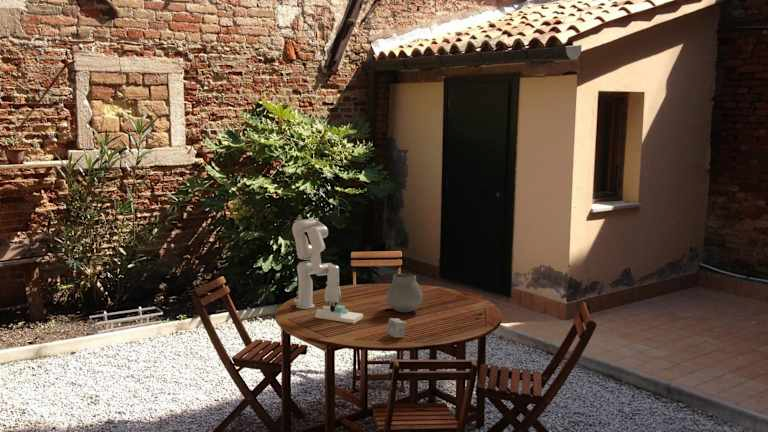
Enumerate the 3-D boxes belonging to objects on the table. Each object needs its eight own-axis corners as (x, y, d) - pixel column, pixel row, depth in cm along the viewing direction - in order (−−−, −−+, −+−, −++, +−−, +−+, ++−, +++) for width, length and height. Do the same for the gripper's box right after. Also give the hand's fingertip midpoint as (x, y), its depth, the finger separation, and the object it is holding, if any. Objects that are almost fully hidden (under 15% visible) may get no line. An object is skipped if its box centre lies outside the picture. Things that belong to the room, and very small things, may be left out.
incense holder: (406, 337, 424) (407, 321, 423) (394, 339, 420) (395, 322, 419) (398, 333, 433) (398, 316, 431) (386, 334, 429) (386, 318, 427)
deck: (315, 317, 461) (315, 310, 460) (325, 311, 473) (325, 305, 473) (353, 323, 450) (353, 316, 449) (363, 317, 462) (363, 310, 462)
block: (334, 314, 460) (334, 306, 459) (338, 312, 464) (338, 305, 463) (341, 315, 458) (341, 307, 457) (345, 313, 462) (345, 306, 461)
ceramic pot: (427, 308, 486) (428, 273, 482) (413, 318, 464) (414, 281, 460) (394, 304, 496) (395, 269, 492) (380, 312, 474) (380, 276, 470)
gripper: (320, 284, 459) (320, 311, 462) (340, 286, 454) (340, 314, 456) (325, 281, 466) (325, 308, 469) (346, 284, 460) (345, 311, 463)
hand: (332, 311), depth 463 cm, fingers closed
